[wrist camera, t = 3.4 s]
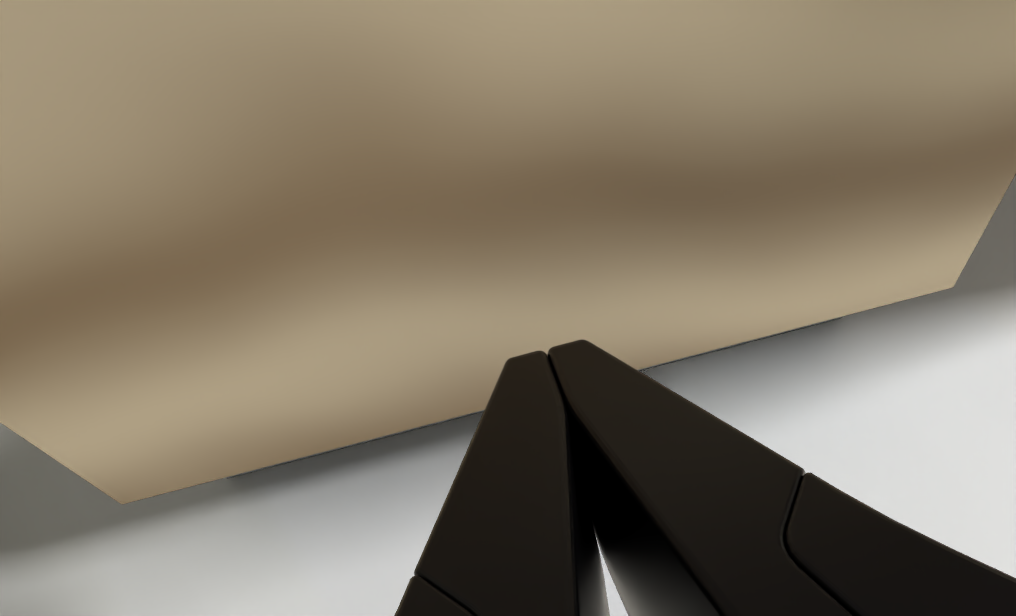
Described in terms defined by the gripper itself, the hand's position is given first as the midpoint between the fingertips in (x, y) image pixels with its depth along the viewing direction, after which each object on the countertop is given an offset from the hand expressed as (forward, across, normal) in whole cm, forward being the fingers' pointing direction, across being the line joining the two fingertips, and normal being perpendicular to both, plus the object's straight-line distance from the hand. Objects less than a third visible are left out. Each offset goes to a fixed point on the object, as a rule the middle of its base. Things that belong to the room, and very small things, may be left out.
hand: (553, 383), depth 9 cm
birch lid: (+4, 0, -1) cm, 4 cm away
